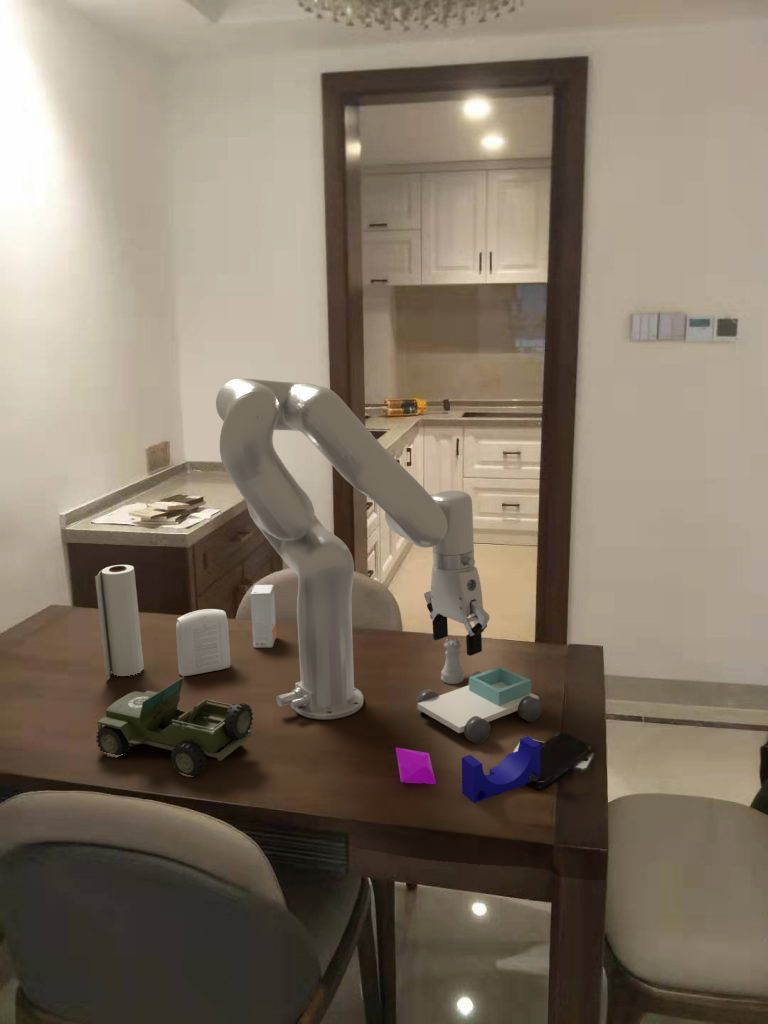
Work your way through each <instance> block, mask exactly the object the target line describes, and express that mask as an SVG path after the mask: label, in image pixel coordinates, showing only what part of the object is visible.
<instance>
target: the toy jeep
mask: <svg viewBox="0 0 768 1024" xmlns="http://www.w3.org/2000/svg"><path fill="white" fill-rule="evenodd" d="M184 679H185V676H182V677H180V678H178V679H177V680H175V681H174V682H171V684H169V685H167V686H165V687H164V688H162V689H161V690H159V691H158V692H156V691H152V690H146V691H145V692H143V691H136V690H135V691H132V692H129V693H127V694H126V695H124V696H123V697H120V698H119V699H117V700H116V701H114V702H113V703H112V704H111V705H109V706H108V707H107V708H106V710H105V716H104V717H102V718H101V719H99V720H97V721H96V723H97V729H98V731H97V732H96V735H95V736H96V737H95V738H96V740H95V741H96V743H97V748H100V749H99V751H100V752H101V751H102V753H103V752H106V753H111V754H115V755H121V754H124V753H125V754H126V753H127V752H128V751H129V748H130V747H131V745H142V744H144V745H147V746H148V745H149V746H150V747H151V746H152V747H156V748H160V749H163V750H164V749H165V750H169V751H170V752H171V754H170V762H172V763H171V765H172V767H174V768H173V769H174V771H177V773H178V772H181V773H184V774H187V775H191V776H194V777H193V778H195V776H196V777H197V776H199V775H200V774H201V773H203V771H204V770H205V768H206V766H207V764H206V763H207V759H206V758H207V757H206V756H208V757H212V758H216V759H217V761H220V762H221V761H223V760H224V759H225V758H226V757H227V756H229V755H230V754H231V753H232V752H234V751H236V750H237V749H238V748H239V747H240V746H241V745H242V744H244V743H245V742H246V741H247V740H248V739H251V737H252V729H251V728H252V727H251V726H252V725H253V720H254V716H253V715H254V712H253V708H251V706H250V705H249V704H248V703H247V704H246V703H244V702H235V703H232V704H231V703H230V704H229V703H225V702H220V701H217V700H212V699H208V698H207V697H206V698H202V700H201V701H200V702H198V703H196V705H194V707H193V709H191V708H190V709H188V710H187V711H185V710H183V709H180V708H178V705H179V702H180V700H181V696H180V695H181V692H182V687H183V684H184ZM224 745H225V746H226V747H225V746H224ZM222 747H224V748H222ZM220 749H221V750H220ZM219 750H220V751H219ZM217 751H219V752H217ZM125 754H124V755H125Z"/></svg>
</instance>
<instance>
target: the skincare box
mask: <svg viewBox="0 0 768 1024" xmlns="http://www.w3.org/2000/svg"><path fill="white" fill-rule="evenodd" d="M274 587H275V586H274V584H255V585H253V588H252V589H251V590H252V591H251V592H250V595H249V596H250V597H249V598H250V599H249V600H250V614H251V633H252V648H255V649H256V648H257V649H258V648H260V649H261V648H273V647H274V644H275V641H276V639H277V627H276V626H277V623H276V602H275V588H274Z"/></svg>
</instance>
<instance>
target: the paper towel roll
mask: <svg viewBox="0 0 768 1024" xmlns="http://www.w3.org/2000/svg"><path fill="white" fill-rule="evenodd" d="M135 573H136V572H135V566H133V565H130V564H116V565H110V566H107V567H105V568H103V569H101V570H100V571H99V572H98V574H97V575H95V576H94V578H95V587H96V598H97V599H96V600H97V607H98V614H99V615H98V617H99V625H100V626H99V627H100V636H101V643H102V644H101V645H102V652H103V661H104V671H105V672H104V673H105V680H106V679H107V678H108V677H109V676H110V677H111V675H110V673H111V671H112V673H111V674H114V675H113V676H115V675H117V676H116V677H118V676H129V677H131V676H130V675H133V676H136V675H138V674H137V673H139V674H141V673H142V672H143V671H144V668H145V667H144V657H143V655H144V654H143V648H142V647H143V646H142V635H141V625H140V616H139V615H140V614H139V605H138V604H139V603H138V593H137V585H136V574H135ZM142 670H143V671H142ZM141 671H142V672H141ZM135 674H136V675H135ZM110 677H109V678H110ZM107 680H108V679H107Z"/></svg>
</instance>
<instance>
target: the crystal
mask: <svg viewBox="0 0 768 1024" xmlns="http://www.w3.org/2000/svg"><path fill="white" fill-rule="evenodd" d="M395 751H396V752H395V753H396V759H397V766H398V772H399V776H400V777H399V779H400V782H401V783H404V782H405V784H407V783H408V784H421V783H426V784H427V785H437V783H436V779H435V774H434V771H433V765H432V761H431V757H430V753H429V752H425V751H424V752H423V751H419V750H412V749H407V748H400V747H395ZM426 784H425V785H426Z"/></svg>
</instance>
